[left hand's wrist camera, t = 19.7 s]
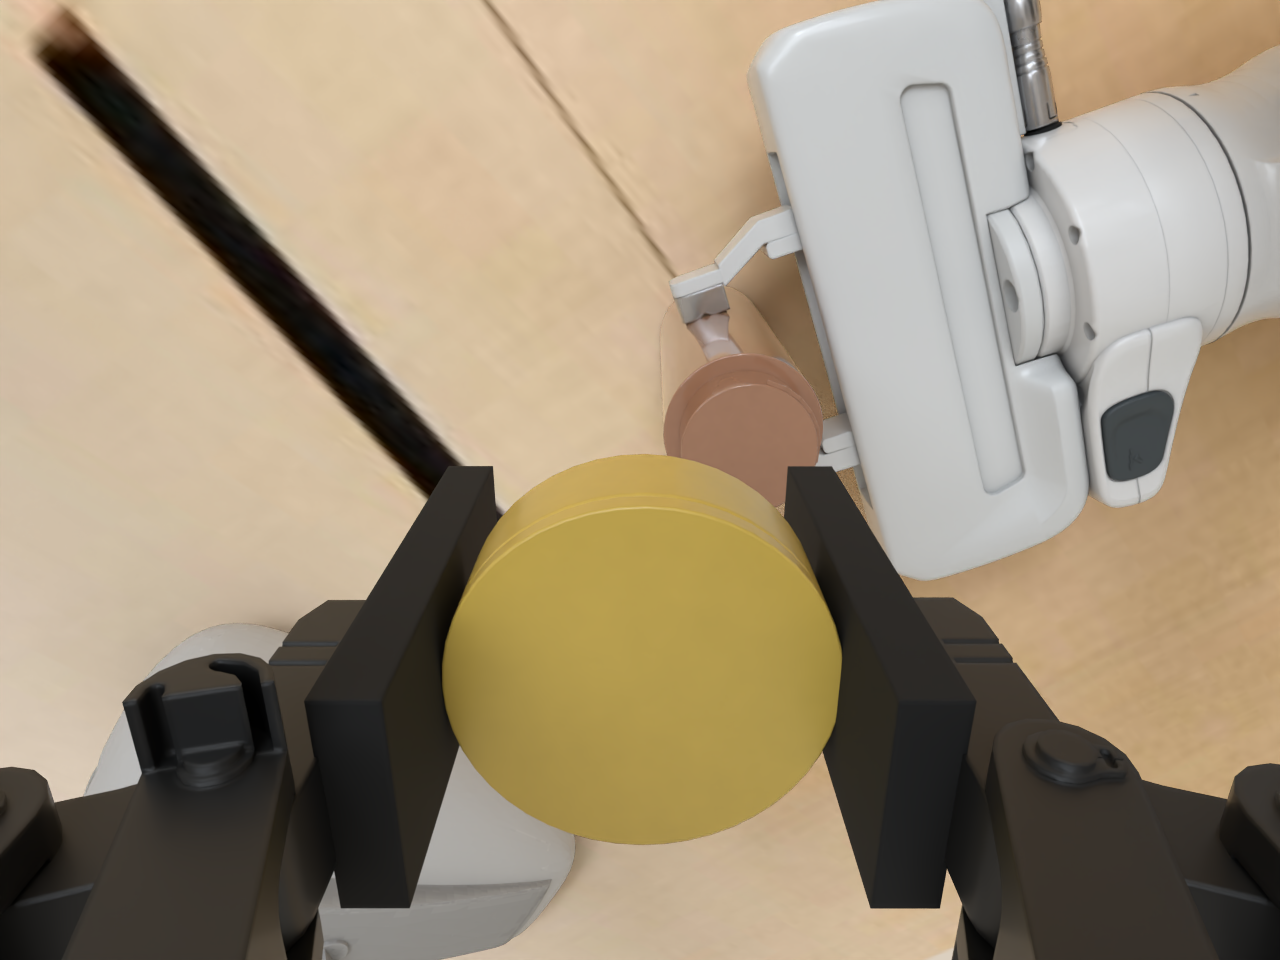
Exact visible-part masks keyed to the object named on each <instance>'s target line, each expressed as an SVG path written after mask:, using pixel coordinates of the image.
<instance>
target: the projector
mask: <svg viewBox="0 0 1280 960" xmlns="http://www.w3.org/2000/svg"><path fill="white" fill-rule="evenodd" d="M288 634H289V633H286V632H284V631H280V630H277V629H273V628H269V627H266V626H261V625H255V624H245V623H233V624H223V625H218V626H214V627H211V628H208V629H205V630H203V631H201V632H198V633H196V634H194V635H192V636H191V637H189V638H187V639H186V640H184V641H183V642H182V643H180V644H179V645H178V646H176V647H175V648H174V649H173V650H172V651H171V652H170V653H168V654H167V655H166V656H165V657H164V658H163V659H162V660H161V661H160V662H159V663H158V664H157V665H156V666H155V667H154V668H153V670H152V671H151V672H150V673H149V674H148V675H147V677H146V678H145V679H144V680H146V679H148V678H149V677H151V676H152V675H154V674H155V673H157V672H158V671H160V670H163V669H165V668H168V667H170V666H173V665H175V664H178V663H180V662H183V661H185V660H189V659H193V658H198V657H202V656H207V655H211V654H225V653H242V654H247V655H251V656H255V657H260V658H261V659H263V660H264V661H265V662H266V663H268V664H269V660H270V658H271V657H272V655H273V654H274V653H275V651H276V650H277V649H278V647H282V642H283V641H284V639H285V638H286V636H287V635H288ZM141 774H142V772H141V769H140V765H139V762H138V758H137V754H136V751H135V747H134V743H133V740H132V736H131V732H130V729H129V725H128V721H127V718H126V714H125V710H124V711H123V712H122V714H121V716H120V718H119V720H118V721H117V723H116V725H115V727H114V729H113V731H112V733H111V735H110V737H109V739H108V741H107V743H106V745H105V747H104V749H103V751H102V754H101V756H100V759H99V763H98V766H97V767H96V769H95V771H94V772H93V774H92V776H91V778H90V780H89V782H88V785H87V788H86V790H85V793H84V796H88V795H93V794H98V793H102V792H107V791H112V790H116V789H120V788H124V787H128V786H131V785H135V784H137V783H138V781H139V779H140V776H141ZM574 856H575V836H574V834H570V833H567V832H565V831H562V830H560V829H557V828H555V827H552V826H549V825H547V824H545V823H543V822H541V821H539V820H537V819H535V818H534V817H532V816H530V815H528V814H526V813H525V812H523V811H522V810H520V809H519V808H517V807H516V806H514V805H513V804H511V803H510V802H508V801H507V800H506V799H505V798H504V797H502V796H501V795H500V794H499V793H498V792H497V791H495V790H494V789H493V788H492V787H491V786H490V785H489V784H488V783H487V782H486V781H485V780H484V778H483V777H482V776H481V775H480V774H479V773H478V772H477V771H476V769H475V768H474V767H473V765H472V764H471V762H470V761H469V759H468V758H467V756H466V755H465V753H464V752H463V751H462V748H461V746H459V749H458V753H457V756H456V759H455V762H454V766H453V769H452V772H451V776H450V779H449V782H448V785H447V789H446V792H445V795H444V798H443V802H442V805H441V808H440V811H439V815H438V818H437V821H436V825H435V828H434V831H433V834H432V838H431V841H430V844H429V847H428V851H427V854H426V857H425V861H424V864H423V867H422V870H421V874H420V877H419V880H418V883H417V887H416V890H415V893H414V897H413V900H412V903H411V906H410V908H341V907H340V901H339V896H338V890H337V884H336V879H335V873H334V872H333V875H332V877H331V879H330V882H329V884H328V886H327V889H326V891H325V893H324V896H323V898H322V900H321V903H320V905H319V907H318V909H319V914H320V919H321V925H322V931H323V938H324V945H323V955H322V960H441V959H446V958H451V957H456V956H460V955H465V954H469V953H474V952H478V951H483V950H487V949H491V948H496V947H499V946H501V945H504V944H506V943H507V942H508V941H510V940H511V939H512V938H514V937H516V936H517V935H519V934H520V933H522V932H523V931H524V930H525V929H526V928H527V927H528V926H529V925H530V924H531V923H532V922H533V921H534V920H535V919H536V918H537V917H538V916H539V915H540V914H541V912H542V911H543V910H544V909H545V907H546V906H547V905H548V904H549V902H550V901H551V900H552V898H553V897H554V895H555V894H556V893H557V891H558V890H559V889H560V887H561V886H562V884H563V882H564V881H565V879H566V877H567V875H568V873H569V872H570V869H571V867H572V864H573V860H574Z"/></svg>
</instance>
